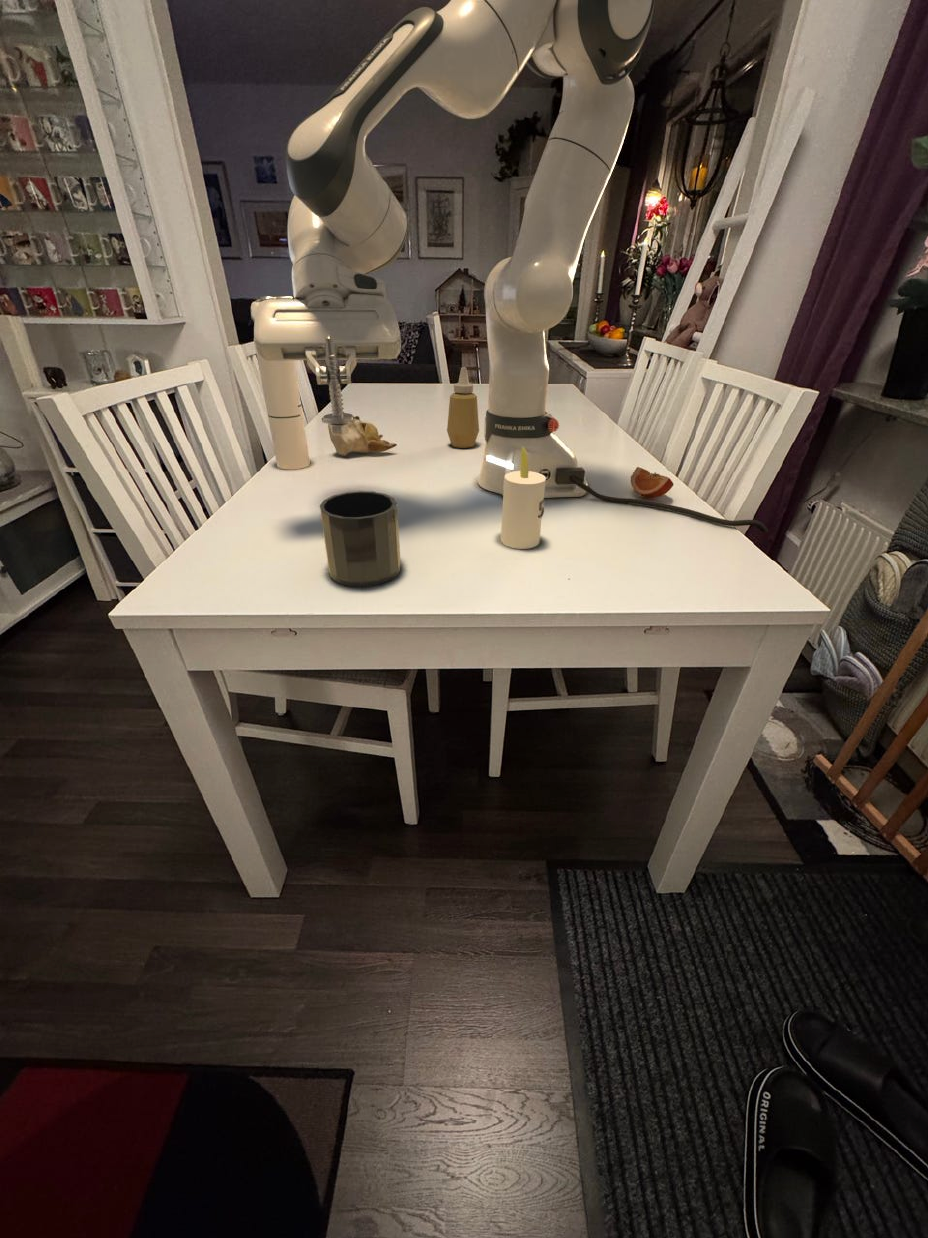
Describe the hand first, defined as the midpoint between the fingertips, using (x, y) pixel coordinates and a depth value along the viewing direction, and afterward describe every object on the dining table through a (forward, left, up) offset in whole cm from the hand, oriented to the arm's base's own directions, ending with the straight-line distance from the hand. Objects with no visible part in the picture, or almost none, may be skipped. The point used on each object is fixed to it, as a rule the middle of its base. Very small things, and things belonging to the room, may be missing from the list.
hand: (334, 381), depth 73 cm
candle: (-28, 0, -23) cm, 36 cm away
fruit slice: (-54, -23, -23) cm, 63 cm away
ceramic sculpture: (+9, -47, -24) cm, 53 cm away
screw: (0, -1, -7) cm, 7 cm away
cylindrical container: (+22, -36, -23) cm, 48 cm away
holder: (-5, +12, -23) cm, 27 cm away
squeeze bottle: (-15, -56, -23) cm, 63 cm away
